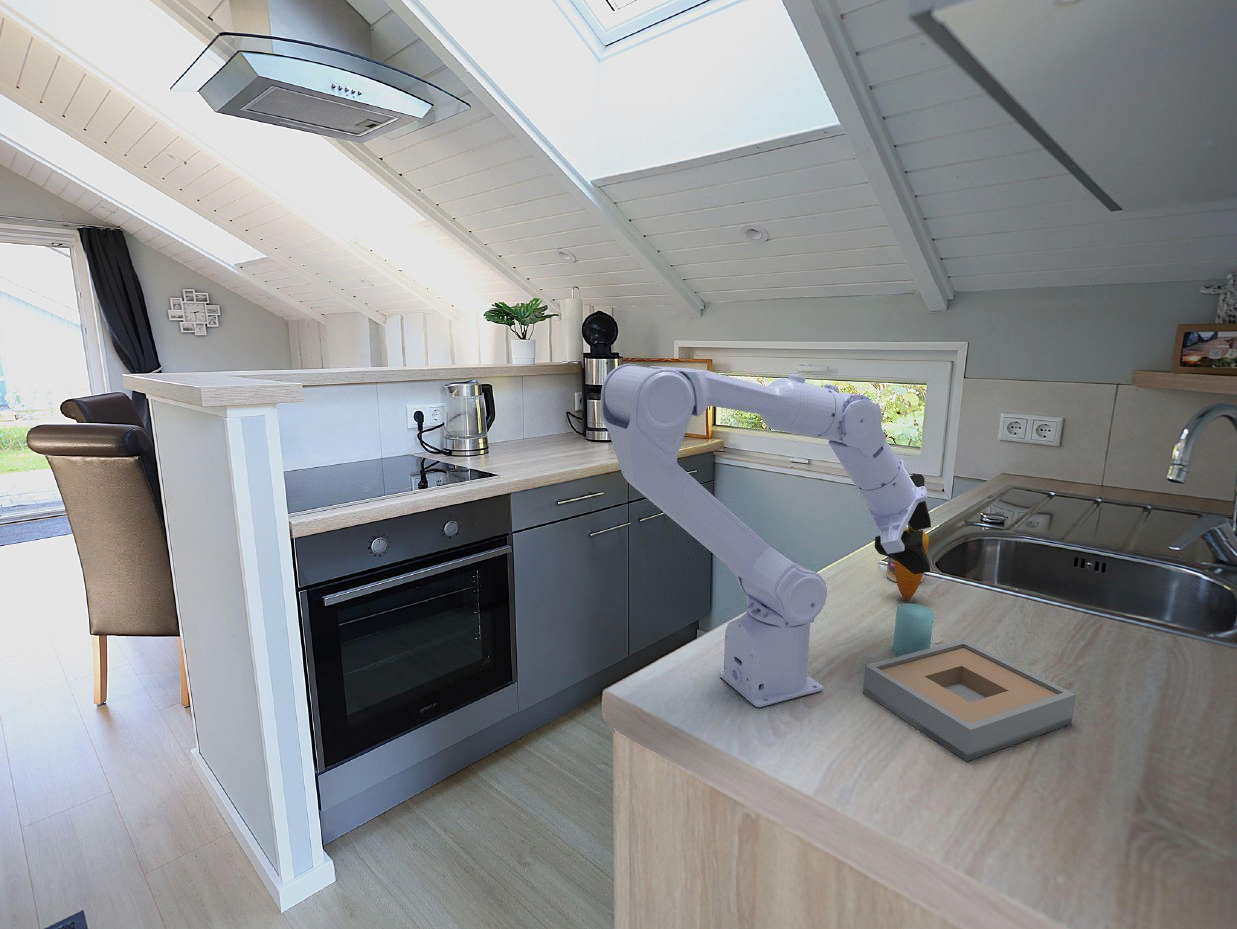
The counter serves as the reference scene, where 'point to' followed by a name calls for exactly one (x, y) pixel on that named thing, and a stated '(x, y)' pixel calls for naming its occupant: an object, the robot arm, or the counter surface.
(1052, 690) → the bore box
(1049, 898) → the counter surface
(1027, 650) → the counter surface
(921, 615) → the teal peg
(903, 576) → the carrot
